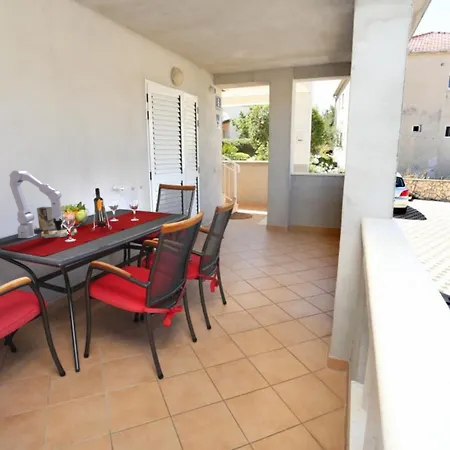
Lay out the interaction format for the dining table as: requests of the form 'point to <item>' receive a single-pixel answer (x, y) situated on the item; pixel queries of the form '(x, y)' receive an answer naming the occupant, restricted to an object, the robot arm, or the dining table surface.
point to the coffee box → (45, 218)
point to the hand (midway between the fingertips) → (58, 229)
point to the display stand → (47, 232)
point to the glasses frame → (57, 234)
